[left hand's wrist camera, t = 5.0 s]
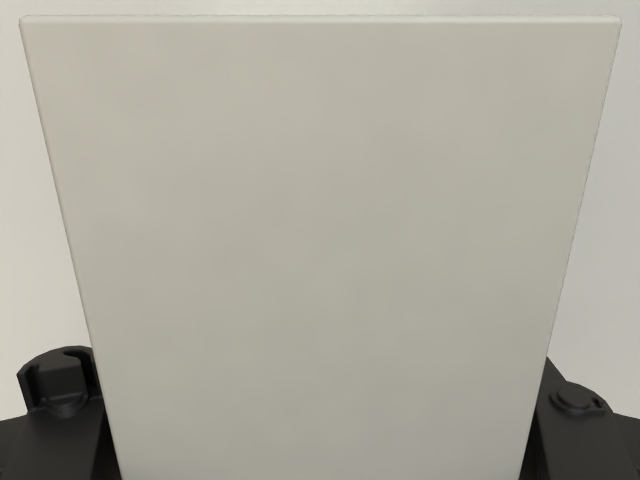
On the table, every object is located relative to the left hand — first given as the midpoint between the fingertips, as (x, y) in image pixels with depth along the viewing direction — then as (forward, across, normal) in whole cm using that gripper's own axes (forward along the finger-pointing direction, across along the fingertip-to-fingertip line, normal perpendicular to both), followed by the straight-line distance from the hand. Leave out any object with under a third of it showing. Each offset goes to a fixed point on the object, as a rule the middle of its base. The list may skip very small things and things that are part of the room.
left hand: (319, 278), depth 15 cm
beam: (0, 0, -20) cm, 21 cm away
